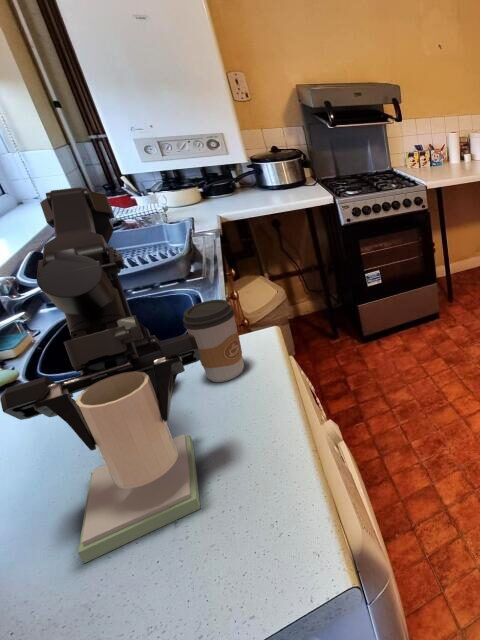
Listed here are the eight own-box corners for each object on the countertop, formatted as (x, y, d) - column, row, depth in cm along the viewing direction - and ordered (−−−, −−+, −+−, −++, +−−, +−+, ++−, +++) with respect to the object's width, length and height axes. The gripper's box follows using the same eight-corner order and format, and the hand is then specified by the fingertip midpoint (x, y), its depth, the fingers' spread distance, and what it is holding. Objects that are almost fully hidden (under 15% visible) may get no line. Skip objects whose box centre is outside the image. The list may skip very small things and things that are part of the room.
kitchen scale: (96, 480, 65) (89, 466, 64) (193, 442, 72) (188, 428, 71) (84, 563, 54) (75, 548, 53) (200, 508, 60) (194, 493, 59)
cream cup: (150, 444, 62) (118, 368, 58) (190, 451, 61) (161, 374, 56) (100, 484, 56) (60, 403, 51) (143, 492, 55) (107, 410, 50)
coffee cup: (228, 388, 84) (206, 320, 79) (192, 383, 86) (168, 317, 81) (259, 363, 92) (241, 299, 86) (225, 359, 94) (206, 296, 88)
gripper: (-35, 331, 47) (-7, 469, 43) (175, 280, 58) (212, 387, 55) (8, 360, 56) (35, 478, 52) (185, 311, 67) (217, 405, 63)
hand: (130, 434), depth 55 cm, fingers closed on cream cup, 7 cm apart
